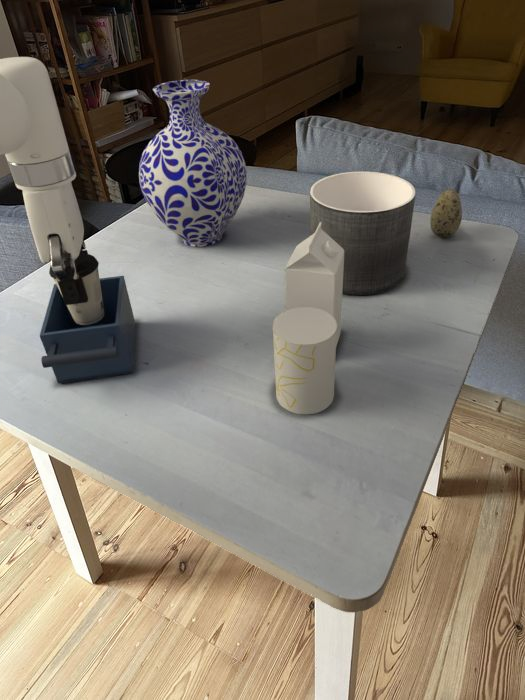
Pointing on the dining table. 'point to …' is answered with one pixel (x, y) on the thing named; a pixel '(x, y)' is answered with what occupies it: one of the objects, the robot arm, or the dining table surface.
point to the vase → (192, 169)
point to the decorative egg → (446, 214)
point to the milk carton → (316, 276)
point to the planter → (366, 226)
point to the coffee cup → (90, 276)
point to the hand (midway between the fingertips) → (79, 287)
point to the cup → (304, 359)
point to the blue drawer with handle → (90, 336)
